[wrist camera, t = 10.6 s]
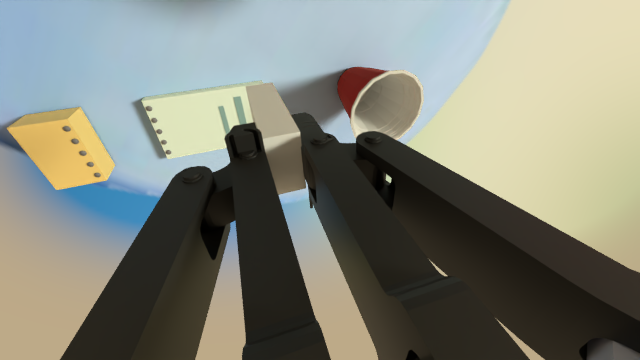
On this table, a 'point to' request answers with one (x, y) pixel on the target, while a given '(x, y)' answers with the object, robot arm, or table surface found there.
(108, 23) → the table surface
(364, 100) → the plastic cup
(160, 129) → the pale green flat block
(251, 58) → the table surface
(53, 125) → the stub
